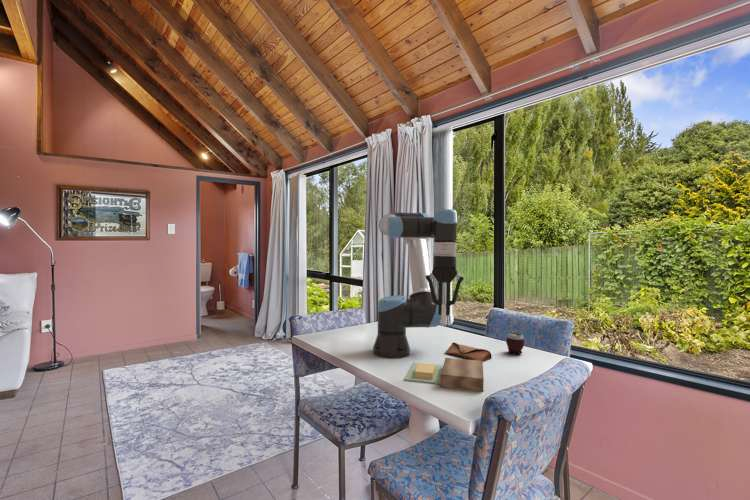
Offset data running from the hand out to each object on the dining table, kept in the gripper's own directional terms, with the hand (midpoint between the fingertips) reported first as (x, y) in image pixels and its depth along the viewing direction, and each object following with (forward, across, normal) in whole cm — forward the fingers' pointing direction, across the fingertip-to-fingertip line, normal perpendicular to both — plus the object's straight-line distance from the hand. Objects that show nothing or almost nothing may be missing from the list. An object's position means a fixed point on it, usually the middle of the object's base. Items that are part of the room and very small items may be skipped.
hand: (443, 324), depth 128 cm
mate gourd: (+18, +27, +37) cm, 49 cm away
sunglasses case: (+19, +7, +26) cm, 33 cm away
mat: (+18, -6, +2) cm, 19 cm away
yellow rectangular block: (+16, -6, 0) cm, 17 cm away
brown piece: (+18, +7, 0) cm, 19 cm away
